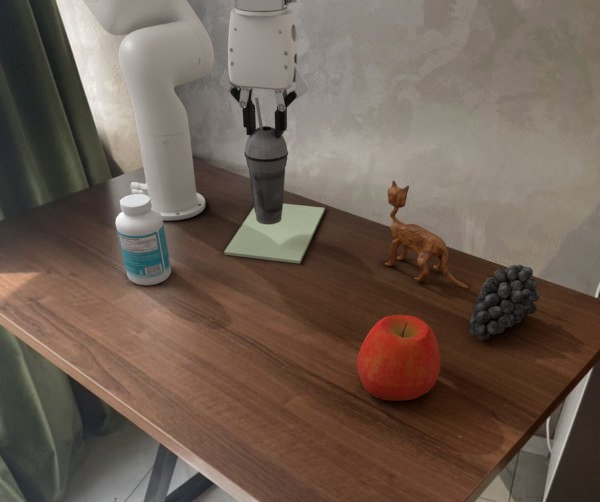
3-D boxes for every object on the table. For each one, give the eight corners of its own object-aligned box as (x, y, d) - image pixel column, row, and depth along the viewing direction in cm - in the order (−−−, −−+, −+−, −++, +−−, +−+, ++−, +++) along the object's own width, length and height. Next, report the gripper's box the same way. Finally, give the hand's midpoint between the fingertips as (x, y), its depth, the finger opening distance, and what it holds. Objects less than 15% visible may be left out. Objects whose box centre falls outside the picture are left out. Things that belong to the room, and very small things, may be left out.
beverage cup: (288, 228, 104) (286, 105, 91) (246, 228, 105) (238, 105, 91) (290, 210, 110) (288, 91, 96) (250, 209, 110) (243, 90, 96)
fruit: (495, 300, 81) (547, 257, 89) (443, 295, 87) (495, 255, 95) (501, 356, 85) (549, 310, 93) (450, 348, 91) (500, 305, 99)
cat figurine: (478, 287, 101) (496, 208, 91) (456, 302, 97) (472, 222, 88) (392, 250, 110) (401, 175, 101) (369, 263, 106) (376, 187, 97)
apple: (382, 423, 76) (391, 358, 69) (339, 375, 83) (343, 310, 76) (451, 397, 80) (466, 332, 73) (404, 353, 87) (413, 289, 80)
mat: (224, 254, 108) (223, 251, 108) (258, 203, 124) (258, 200, 124) (299, 263, 106) (299, 260, 106) (324, 210, 122) (324, 207, 121)
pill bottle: (146, 261, 106) (132, 186, 97) (180, 271, 104) (169, 195, 95) (118, 280, 102) (100, 203, 92) (153, 291, 99) (138, 214, 90)
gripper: (324, -3, 86) (320, 130, 99) (213, -8, 89) (223, 122, 101) (313, 7, 81) (311, 146, 93) (195, 1, 84) (208, 137, 96)
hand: (265, 132), depth 97 cm, fingers closed on beverage cup, 4 cm apart
